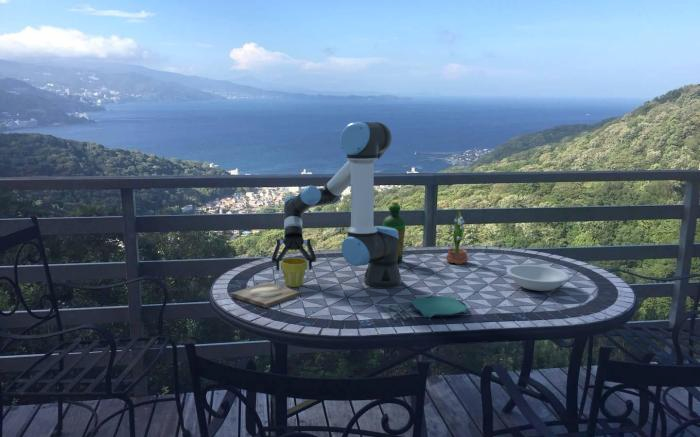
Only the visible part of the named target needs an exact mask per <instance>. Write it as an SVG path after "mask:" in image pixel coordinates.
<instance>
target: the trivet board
mask: <svg viewBox="0 0 700 437" xmlns="http://www.w3.org/2000/svg"><path fill="white" fill-rule="evenodd" d="M300 296H301V291H300V290H297V289H296V290H295V289H293V288H291V287H286V286H282V285H279V284H275V283H272V282H268V281H266V282H263V283H260V284H257V285H253V286H251V287H247V288H243V289H240V290H236V291H234V292H231V298H234V299H237V300H240V301H243V302H246V303H249V304H253V305H256V306H259V307H262V308H265V309H266V308H269V307H272V306H274V305H277V304H281V303H282V302H286V301H288V300H292V299H294V298H297V297H300Z"/></svg>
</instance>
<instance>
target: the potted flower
mask: <svg viewBox="0 0 700 437" xmlns="http://www.w3.org/2000/svg"><path fill="white" fill-rule="evenodd" d="M454 222H455V223H454ZM453 223H454V226H453V227H452V231H453V233H452V234H453V235H452V238H453V241H454V248H449V249H447V255H446V257H445V259H446V261H447V262H448V263H449V262H450V264H452V263H455V264H454V265H464V264H466V263H468V260H469V256H468V255H467V252H468V251H467V250H466V249H464V248H463V249H462V248H460V244H461V242H462V239H463V236H464V232H465V226H464V225H463V224H465V220H464V217H463V216H462V213H461V212H460V210H459V211H457V213H456V216H455V218H454V220H453ZM463 263H464V264H463Z"/></svg>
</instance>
